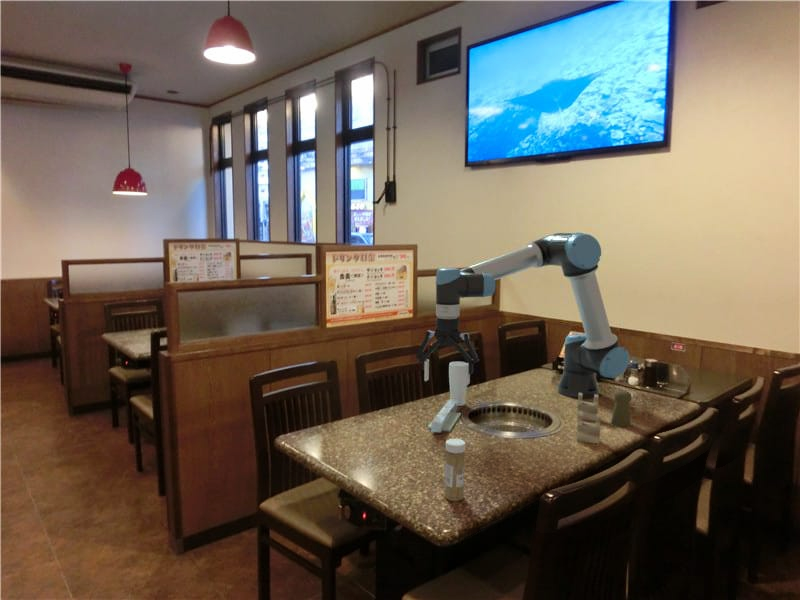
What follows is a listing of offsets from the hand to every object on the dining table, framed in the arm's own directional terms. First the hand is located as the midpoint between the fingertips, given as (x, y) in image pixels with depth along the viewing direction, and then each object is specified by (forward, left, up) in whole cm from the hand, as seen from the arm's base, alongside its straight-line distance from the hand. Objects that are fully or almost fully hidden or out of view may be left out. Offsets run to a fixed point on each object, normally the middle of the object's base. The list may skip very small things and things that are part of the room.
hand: (446, 382), depth 172 cm
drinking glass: (-19, 0, -14) cm, 23 cm away
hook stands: (-10, +44, -13) cm, 47 cm away
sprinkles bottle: (+48, +14, -14) cm, 52 cm away
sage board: (0, 0, -13) cm, 13 cm away
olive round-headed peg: (-18, +54, -14) cm, 59 cm away
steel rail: (0, 0, -13) cm, 13 cm away
